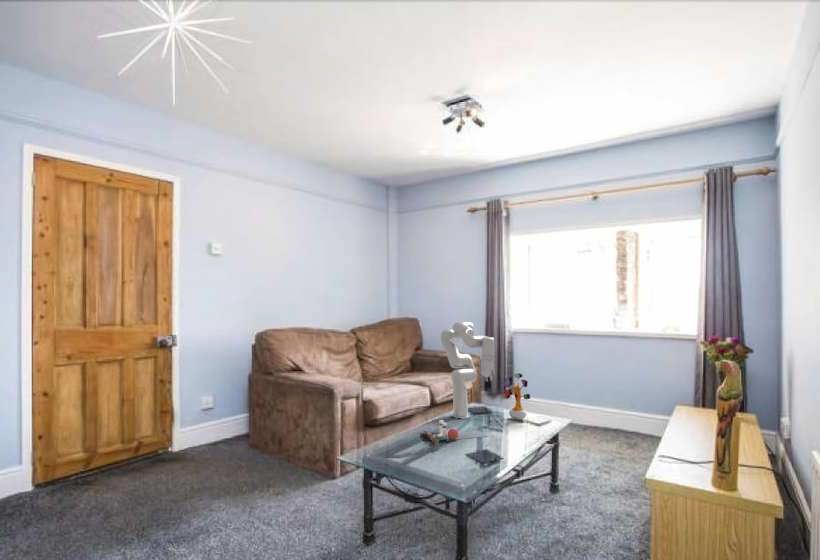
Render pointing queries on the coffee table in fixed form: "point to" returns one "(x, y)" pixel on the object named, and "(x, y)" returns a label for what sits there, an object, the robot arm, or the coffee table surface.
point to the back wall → (432, 437)
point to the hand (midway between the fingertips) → (488, 387)
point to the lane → (469, 435)
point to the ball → (452, 434)
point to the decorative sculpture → (516, 397)
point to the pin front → (439, 435)
